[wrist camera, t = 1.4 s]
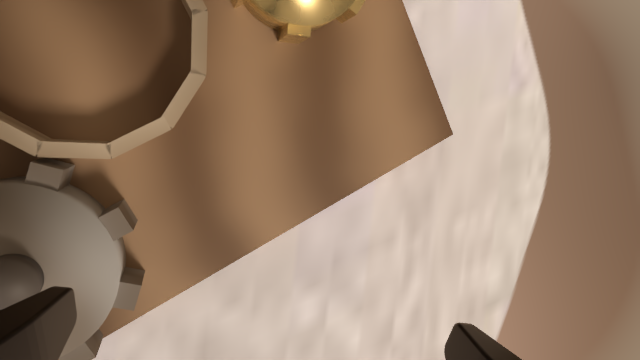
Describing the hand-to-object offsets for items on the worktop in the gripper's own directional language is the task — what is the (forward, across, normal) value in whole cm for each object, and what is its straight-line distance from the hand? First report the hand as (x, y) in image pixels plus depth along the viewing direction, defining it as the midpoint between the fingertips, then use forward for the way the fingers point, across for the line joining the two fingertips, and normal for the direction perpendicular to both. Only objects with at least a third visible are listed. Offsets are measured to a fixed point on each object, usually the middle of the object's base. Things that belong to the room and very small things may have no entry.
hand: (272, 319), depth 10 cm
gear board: (+12, -6, +1) cm, 13 cm away
